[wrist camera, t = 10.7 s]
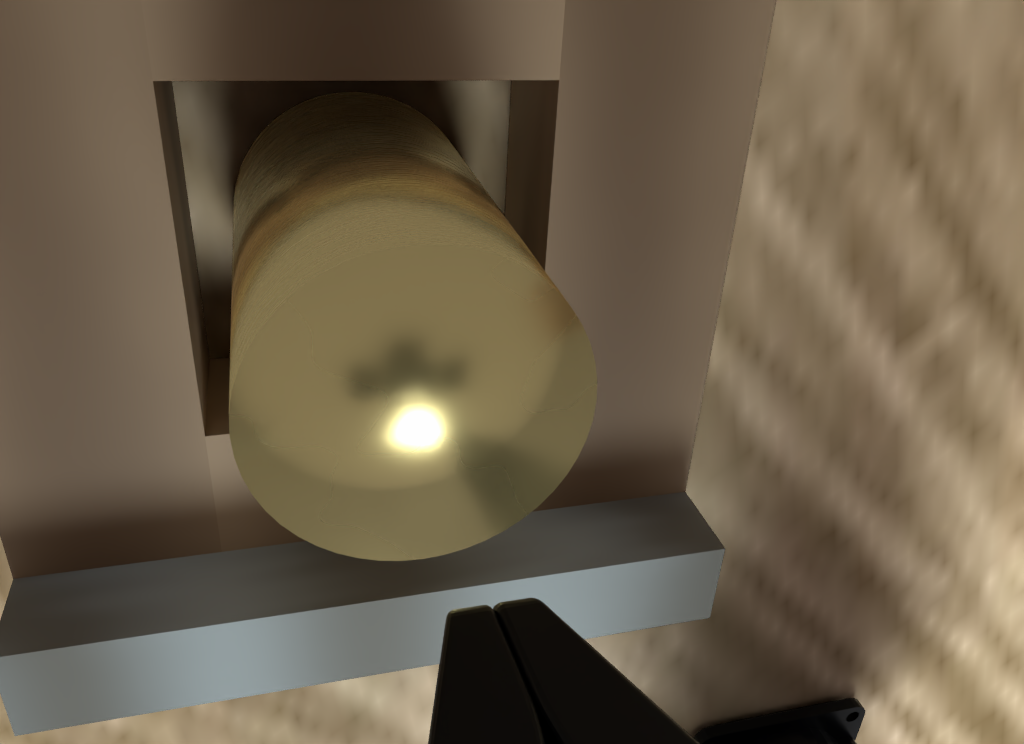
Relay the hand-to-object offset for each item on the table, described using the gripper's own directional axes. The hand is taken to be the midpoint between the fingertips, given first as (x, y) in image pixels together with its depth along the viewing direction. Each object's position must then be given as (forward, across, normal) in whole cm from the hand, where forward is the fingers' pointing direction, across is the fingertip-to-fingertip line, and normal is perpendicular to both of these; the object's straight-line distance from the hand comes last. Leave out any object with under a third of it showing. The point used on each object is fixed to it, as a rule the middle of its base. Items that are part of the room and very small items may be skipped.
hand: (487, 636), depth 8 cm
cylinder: (+12, 0, 0) cm, 12 cm away
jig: (+12, 0, 0) cm, 12 cm away
